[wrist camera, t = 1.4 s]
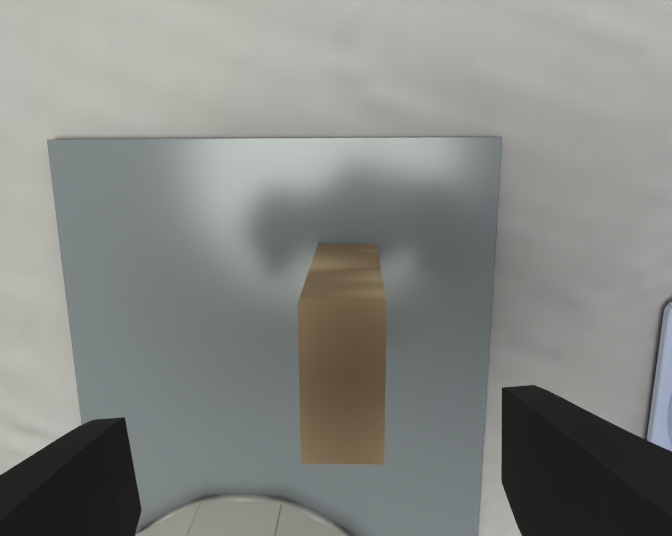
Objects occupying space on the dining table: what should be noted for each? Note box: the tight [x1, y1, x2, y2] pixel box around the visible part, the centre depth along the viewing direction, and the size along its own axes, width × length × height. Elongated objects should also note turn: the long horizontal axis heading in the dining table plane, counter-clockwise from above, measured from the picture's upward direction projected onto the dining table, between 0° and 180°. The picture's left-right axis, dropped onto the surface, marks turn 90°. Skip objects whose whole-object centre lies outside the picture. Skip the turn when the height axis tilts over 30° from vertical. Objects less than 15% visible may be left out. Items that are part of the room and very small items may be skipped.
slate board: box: [47, 137, 502, 536], centre depth 22 cm, size 15×26×1 cm, turn 0°
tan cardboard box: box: [297, 243, 387, 465], centre depth 17 cm, size 2×4×7 cm, turn 1°
